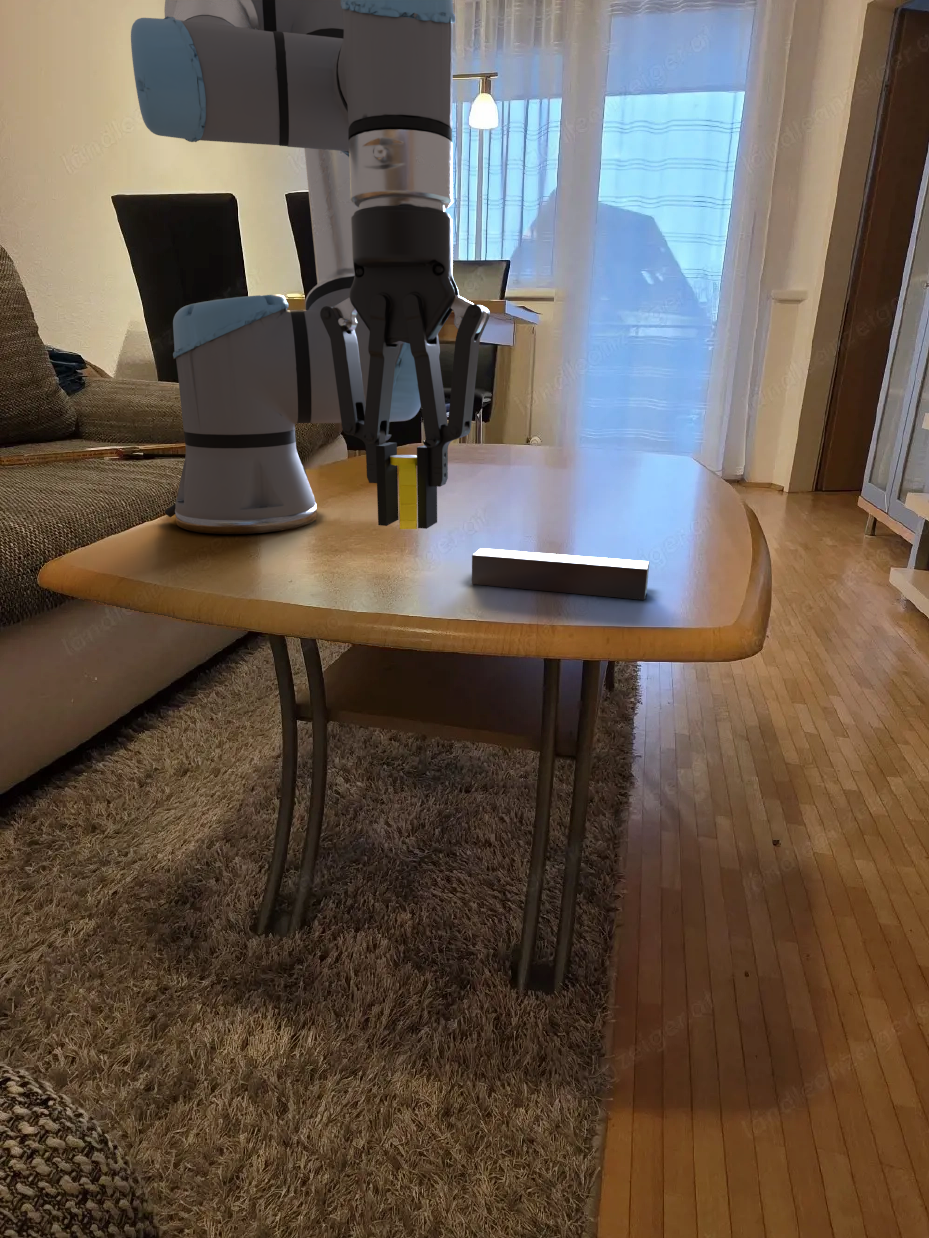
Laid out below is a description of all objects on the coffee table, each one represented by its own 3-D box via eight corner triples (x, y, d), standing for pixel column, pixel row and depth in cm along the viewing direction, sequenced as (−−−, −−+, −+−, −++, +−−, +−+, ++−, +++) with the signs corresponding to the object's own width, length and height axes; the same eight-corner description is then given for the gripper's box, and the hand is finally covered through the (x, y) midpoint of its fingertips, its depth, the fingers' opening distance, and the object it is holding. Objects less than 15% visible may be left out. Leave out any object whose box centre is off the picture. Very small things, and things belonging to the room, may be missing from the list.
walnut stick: (471, 584, 62) (471, 554, 62) (479, 576, 65) (480, 547, 64) (644, 600, 59) (647, 569, 58) (646, 591, 61) (649, 561, 60)
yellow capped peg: (425, 535, 61) (425, 460, 59) (391, 535, 61) (390, 460, 59) (423, 520, 67) (422, 451, 65) (391, 520, 66) (390, 451, 64)
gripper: (280, 206, 55) (301, 526, 62) (493, 194, 50) (487, 540, 58) (327, 223, 61) (341, 510, 69) (518, 214, 57) (510, 521, 65)
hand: (407, 523), depth 64 cm, fingers closed on yellow capped peg, 3 cm apart
